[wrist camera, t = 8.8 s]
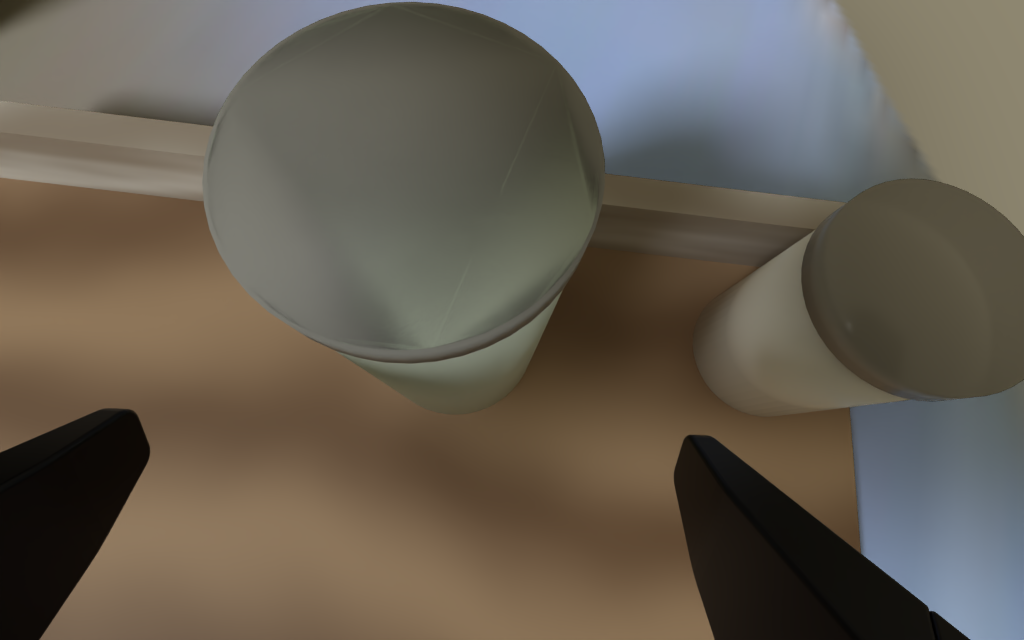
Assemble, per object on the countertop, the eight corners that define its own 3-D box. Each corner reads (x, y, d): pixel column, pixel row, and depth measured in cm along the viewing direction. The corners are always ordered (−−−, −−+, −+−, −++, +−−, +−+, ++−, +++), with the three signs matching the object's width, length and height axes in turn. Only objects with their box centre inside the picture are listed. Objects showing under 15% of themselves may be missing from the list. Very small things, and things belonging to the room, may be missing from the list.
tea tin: (527, 424, 15) (593, 377, 6) (364, 406, 15) (150, 328, 6) (541, 272, 17) (614, 25, 7) (392, 256, 17) (257, -19, 7)
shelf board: (864, 864, 13) (1005, 1020, 10) (-249, 756, 13) (-544, 878, 9) (822, 258, 18) (907, 210, 14) (9, 162, 18) (-117, 86, 14)
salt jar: (830, 427, 16) (1075, 410, 9) (689, 411, 16) (834, 382, 9) (821, 292, 17) (1031, 192, 10) (690, 277, 17) (819, 166, 10)
